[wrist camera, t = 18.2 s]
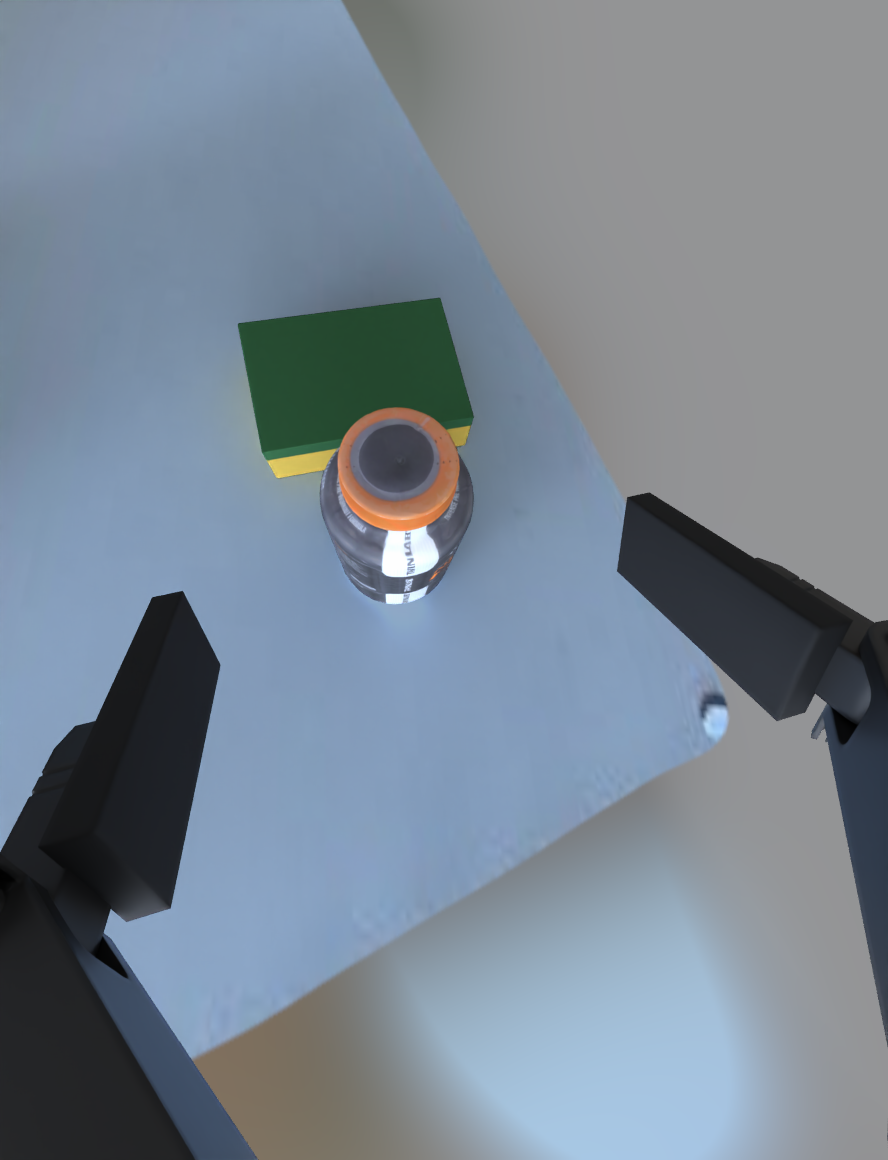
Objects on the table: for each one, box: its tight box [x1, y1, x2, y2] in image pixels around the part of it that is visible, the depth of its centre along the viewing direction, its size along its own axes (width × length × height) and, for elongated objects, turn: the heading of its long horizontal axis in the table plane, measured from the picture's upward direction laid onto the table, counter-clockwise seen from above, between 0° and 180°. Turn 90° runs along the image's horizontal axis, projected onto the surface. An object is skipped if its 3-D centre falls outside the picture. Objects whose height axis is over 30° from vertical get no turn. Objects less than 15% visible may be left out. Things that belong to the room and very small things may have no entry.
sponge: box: [238, 298, 474, 478], centre depth 26 cm, size 11×8×3 cm
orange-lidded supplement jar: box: [320, 407, 474, 604], centre depth 20 cm, size 6×6×11 cm
